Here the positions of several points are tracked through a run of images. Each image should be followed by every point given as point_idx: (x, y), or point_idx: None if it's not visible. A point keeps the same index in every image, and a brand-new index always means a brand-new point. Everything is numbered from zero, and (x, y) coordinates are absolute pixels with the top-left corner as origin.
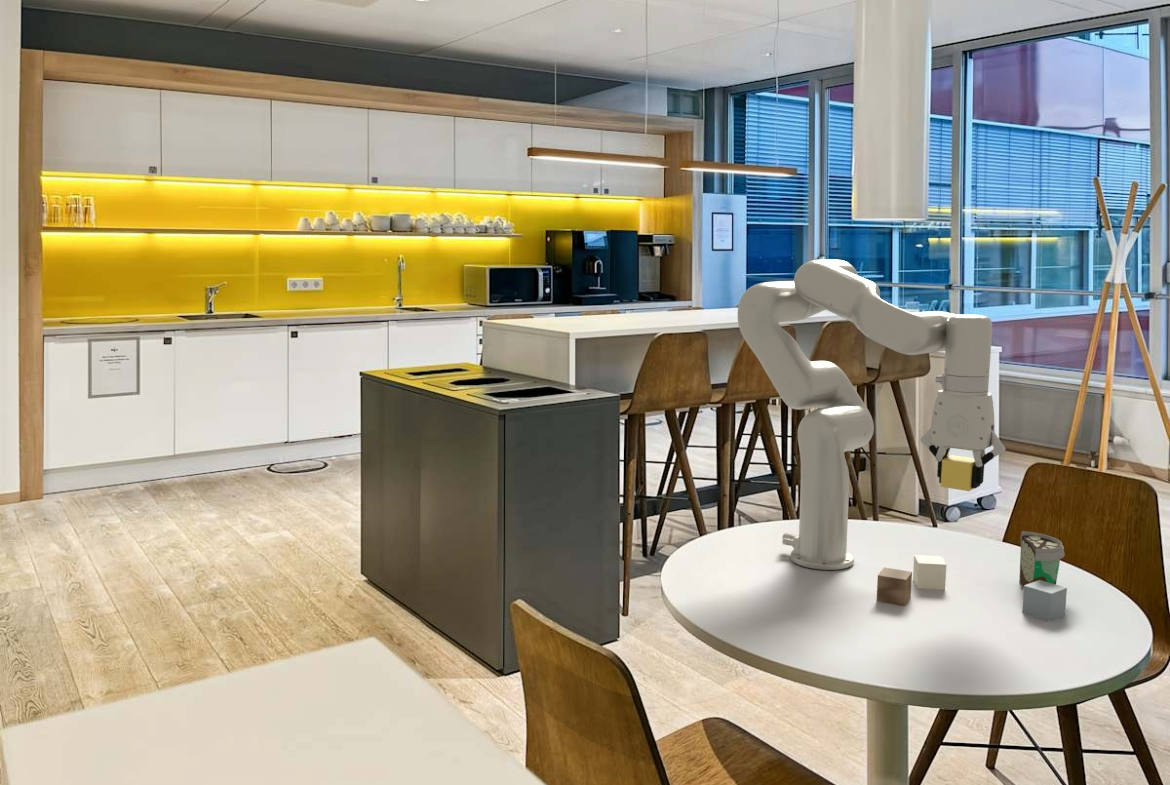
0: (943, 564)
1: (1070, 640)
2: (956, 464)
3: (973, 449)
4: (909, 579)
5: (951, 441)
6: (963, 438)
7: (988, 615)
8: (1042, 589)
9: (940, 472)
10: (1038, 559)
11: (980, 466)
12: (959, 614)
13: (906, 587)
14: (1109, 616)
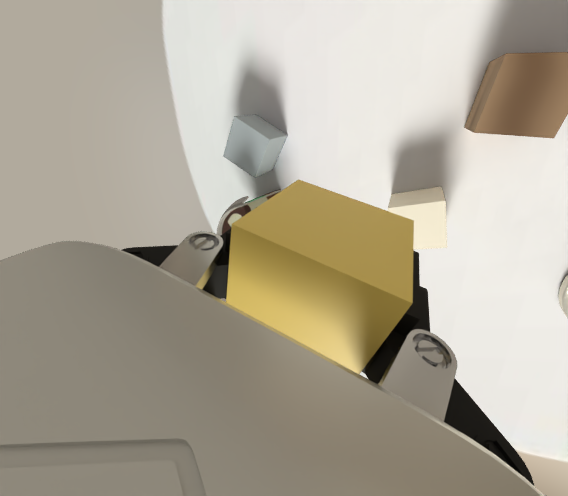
0: (393, 207)
1: (227, 39)
2: (317, 250)
3: (135, 257)
4: (483, 103)
5: (295, 414)
6: (113, 385)
7: (330, 94)
8: (246, 132)
9: (414, 277)
10: (244, 197)
11: (206, 233)
12: (376, 71)
13: (496, 65)
14: (208, 165)
